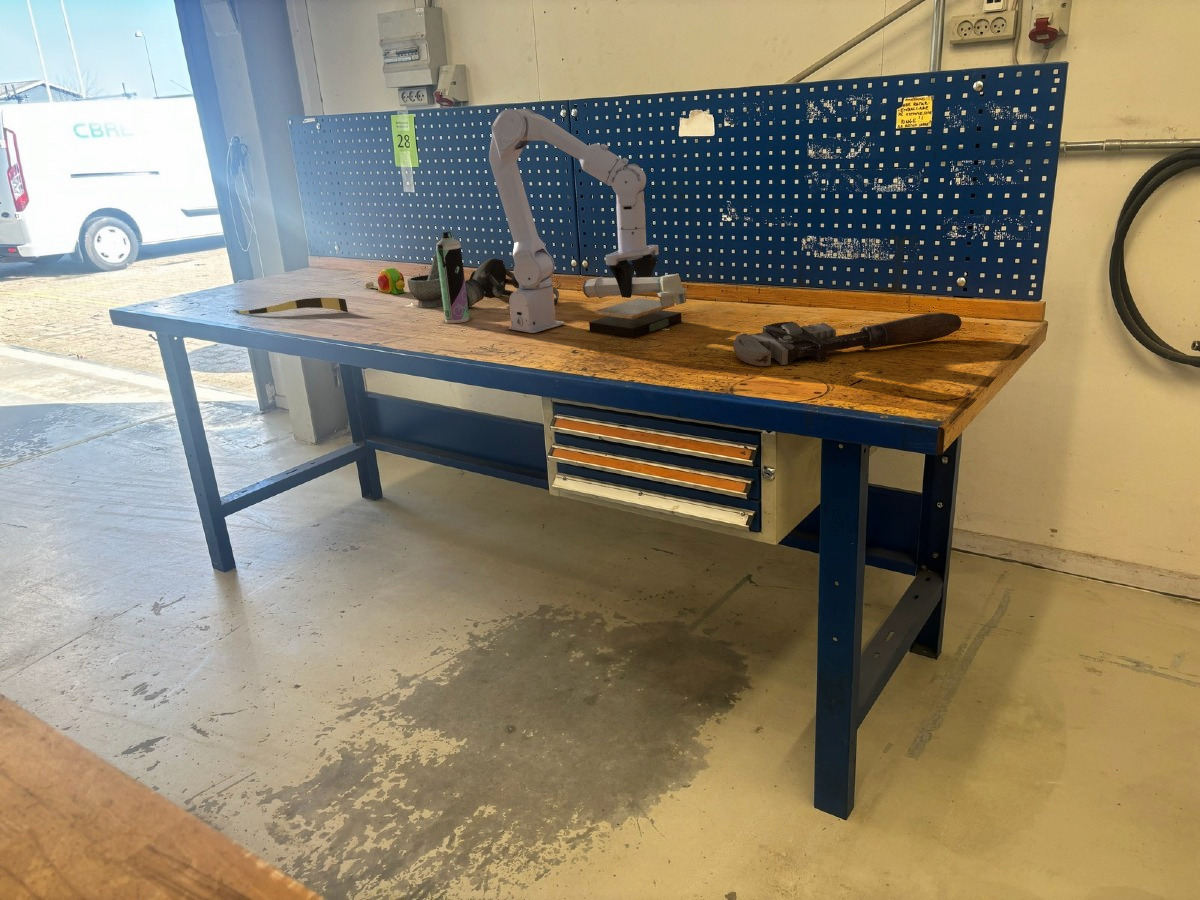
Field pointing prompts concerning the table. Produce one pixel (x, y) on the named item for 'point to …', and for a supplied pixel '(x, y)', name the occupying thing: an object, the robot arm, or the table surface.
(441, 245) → the spray can
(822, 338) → the pipe wrench
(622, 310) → the pan
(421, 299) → the mortar and pestle
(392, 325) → the table surface
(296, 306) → the tape
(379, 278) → the toy measuring tape
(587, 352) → the table surface
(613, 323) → the scale
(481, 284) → the respirator mask
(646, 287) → the pale grey handled tool
